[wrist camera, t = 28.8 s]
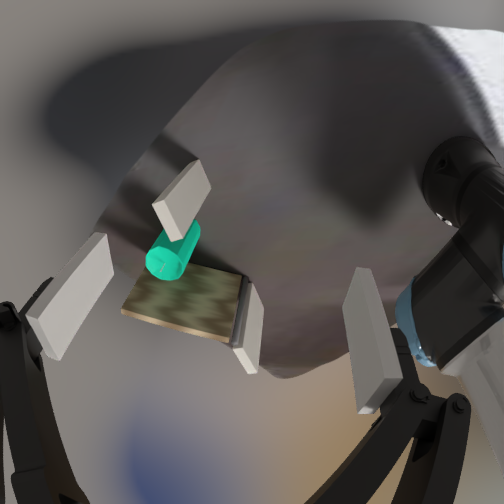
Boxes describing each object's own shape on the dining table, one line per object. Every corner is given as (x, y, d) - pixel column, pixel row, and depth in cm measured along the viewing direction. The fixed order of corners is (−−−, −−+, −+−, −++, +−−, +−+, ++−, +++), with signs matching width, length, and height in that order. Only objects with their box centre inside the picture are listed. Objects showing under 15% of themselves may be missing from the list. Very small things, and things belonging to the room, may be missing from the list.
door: (241, 275, 55) (229, 337, 43) (238, 287, 57) (226, 349, 45) (153, 253, 55) (121, 308, 42) (153, 265, 56) (122, 320, 44)
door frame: (199, 159, 44) (163, 199, 32) (263, 308, 60) (257, 373, 47) (189, 162, 45) (151, 204, 32) (256, 310, 60) (248, 374, 47)
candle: (204, 221, 50) (185, 263, 40) (195, 249, 54) (176, 293, 44) (171, 208, 50) (144, 247, 40) (164, 237, 53) (138, 279, 43)
